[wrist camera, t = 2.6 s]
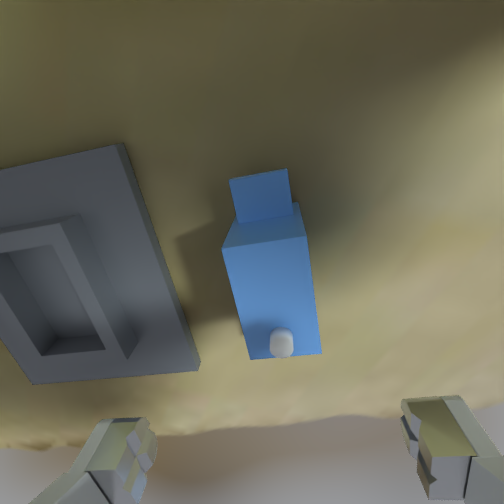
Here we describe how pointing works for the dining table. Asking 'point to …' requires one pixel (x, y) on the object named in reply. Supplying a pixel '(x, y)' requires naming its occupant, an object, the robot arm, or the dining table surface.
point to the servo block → (271, 268)
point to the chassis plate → (86, 273)
